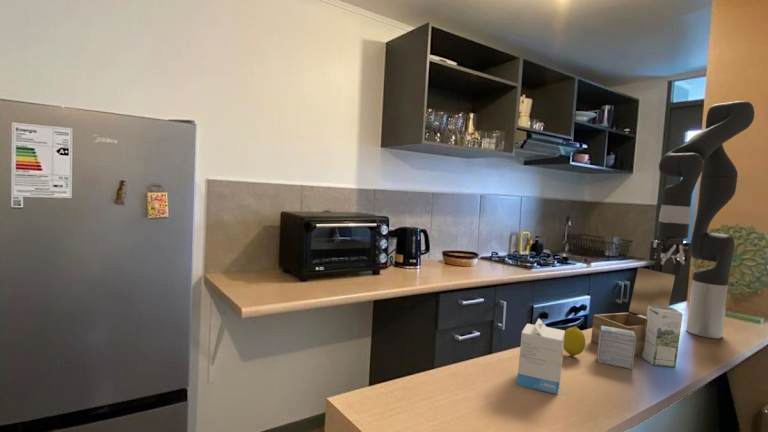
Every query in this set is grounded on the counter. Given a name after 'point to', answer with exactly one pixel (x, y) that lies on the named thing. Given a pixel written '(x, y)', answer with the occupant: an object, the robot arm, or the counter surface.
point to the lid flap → (651, 290)
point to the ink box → (541, 357)
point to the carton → (621, 326)
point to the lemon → (574, 341)
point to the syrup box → (662, 335)
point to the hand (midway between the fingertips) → (667, 276)
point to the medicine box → (616, 347)
